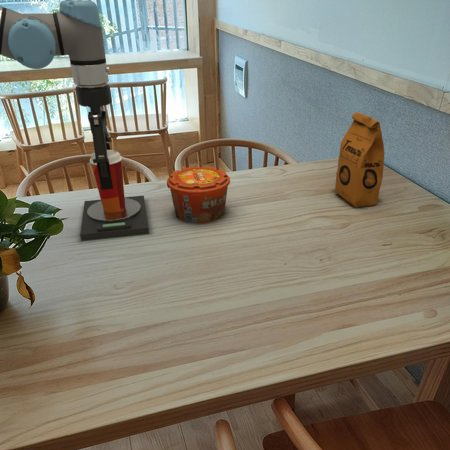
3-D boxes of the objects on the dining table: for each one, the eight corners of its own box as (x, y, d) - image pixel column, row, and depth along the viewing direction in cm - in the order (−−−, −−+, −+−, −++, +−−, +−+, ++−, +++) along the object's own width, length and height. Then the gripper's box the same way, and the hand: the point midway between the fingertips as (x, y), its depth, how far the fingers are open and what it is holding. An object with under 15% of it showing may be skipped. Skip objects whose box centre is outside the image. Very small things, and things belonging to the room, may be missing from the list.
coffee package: (349, 210, 119) (362, 124, 106) (329, 192, 129) (339, 112, 116) (383, 206, 121) (400, 121, 108) (361, 189, 131) (374, 109, 118)
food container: (241, 219, 116) (241, 179, 110) (185, 234, 110) (182, 193, 103) (212, 198, 127) (211, 161, 121) (160, 210, 121) (156, 172, 115)
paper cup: (118, 199, 120) (109, 147, 111) (135, 208, 115) (127, 153, 107) (93, 208, 115) (81, 154, 107) (109, 217, 111) (99, 162, 103)
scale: (82, 244, 107) (79, 231, 105) (86, 209, 123) (83, 197, 121) (149, 236, 109) (147, 224, 107) (144, 203, 125) (143, 192, 123)
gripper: (109, 95, 89) (124, 196, 101) (110, 74, 109) (122, 160, 121) (70, 97, 88) (89, 199, 100) (78, 75, 107) (93, 162, 120)
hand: (107, 178), depth 111 cm, fingers open, 13 cm apart
